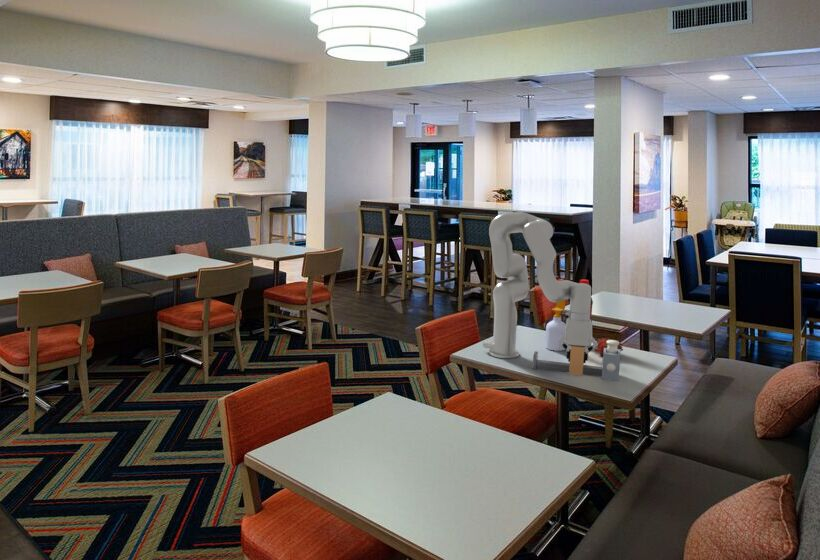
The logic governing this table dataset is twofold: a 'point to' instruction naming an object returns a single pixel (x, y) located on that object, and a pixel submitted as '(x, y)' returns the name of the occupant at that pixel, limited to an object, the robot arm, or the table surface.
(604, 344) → the dragon fruit
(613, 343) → the plunger
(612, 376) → the grey boxy piece
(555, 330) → the soap bottle
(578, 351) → the wooden block
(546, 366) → the rail
